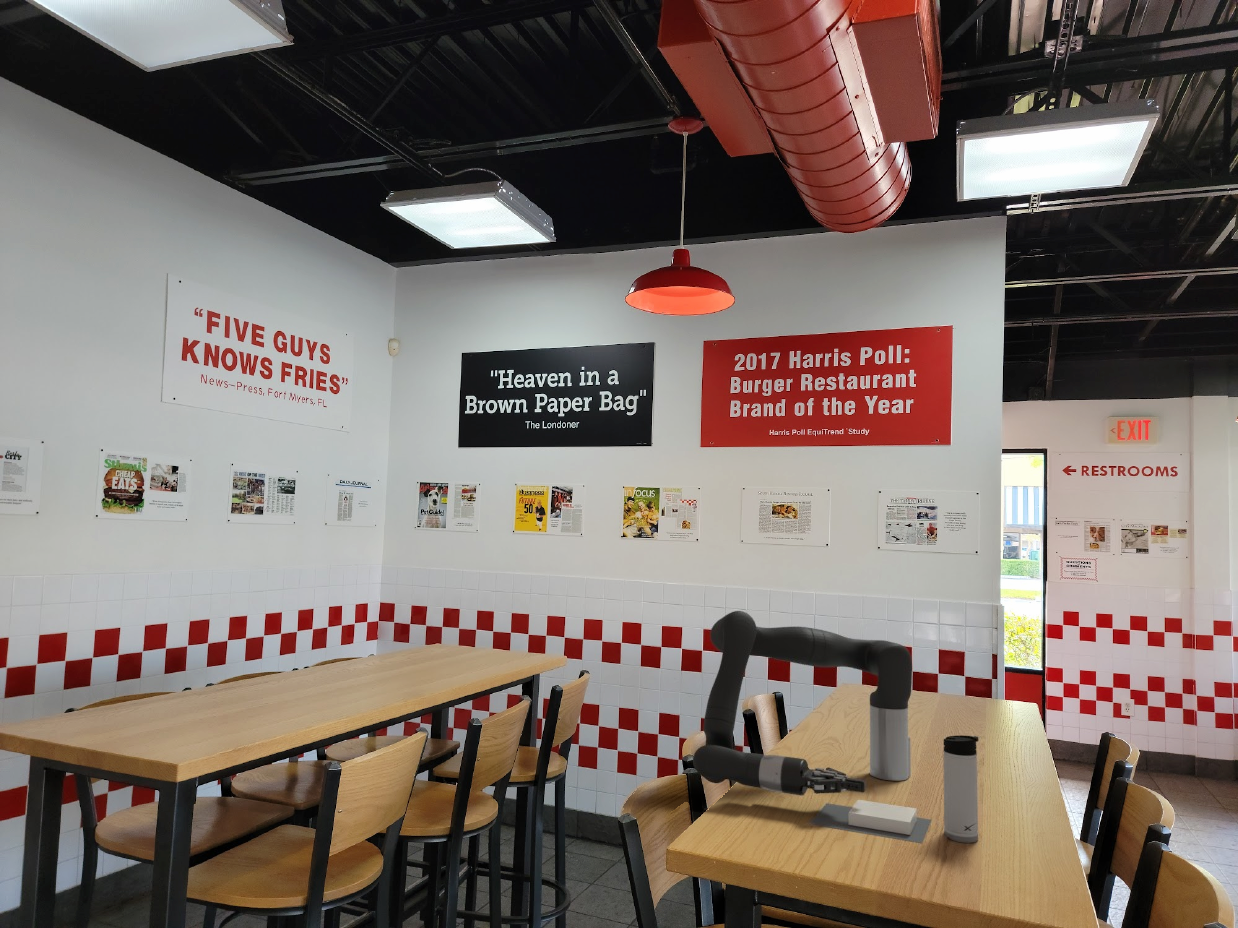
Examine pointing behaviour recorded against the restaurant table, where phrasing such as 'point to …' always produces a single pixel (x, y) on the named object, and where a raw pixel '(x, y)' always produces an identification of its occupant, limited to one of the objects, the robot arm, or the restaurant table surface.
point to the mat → (839, 819)
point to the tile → (883, 817)
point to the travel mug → (960, 788)
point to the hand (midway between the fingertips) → (865, 786)
